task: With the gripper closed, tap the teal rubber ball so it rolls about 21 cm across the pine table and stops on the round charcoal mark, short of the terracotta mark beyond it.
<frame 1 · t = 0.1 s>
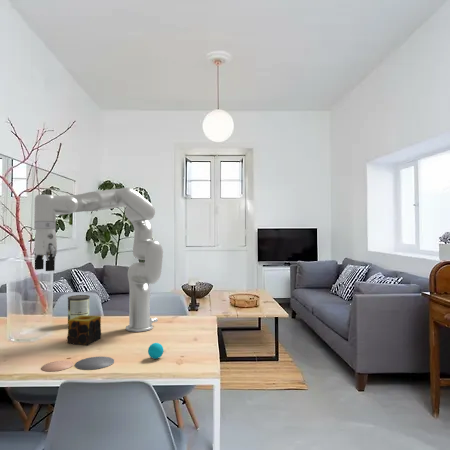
hand: (44, 270, 145), 31 cm above the table, tool pointing down, fingers open, 9 cm apart
candle: (84, 342, 157), on the table
coffee can: (78, 325, 186), on the table
ball: (155, 350, 135), on the table
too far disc: (57, 366, 127), on the table
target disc: (94, 363, 130), on the table
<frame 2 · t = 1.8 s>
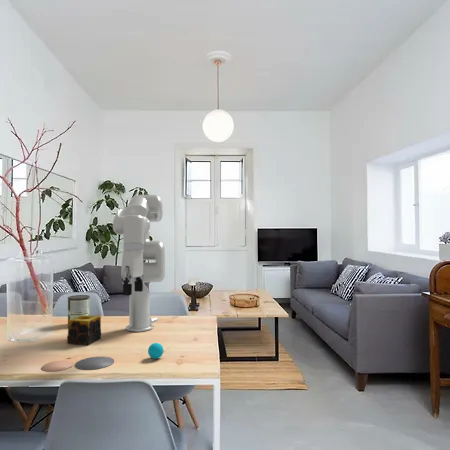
hand: (133, 293, 140), 23 cm above the table, tool pointing down, fingers open, 9 cm apart
nothing on the table moved.
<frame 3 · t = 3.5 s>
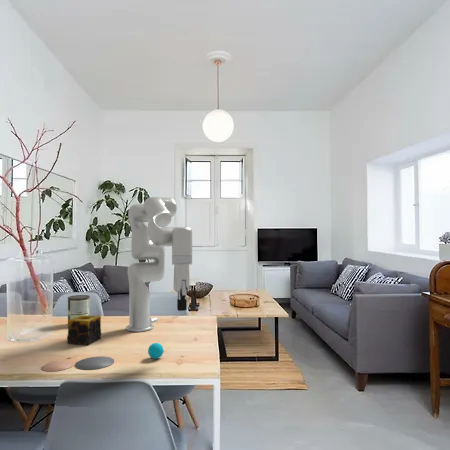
hand: (181, 309, 138), 17 cm above the table, tool pointing down, fingers closed
nothing on the table moved.
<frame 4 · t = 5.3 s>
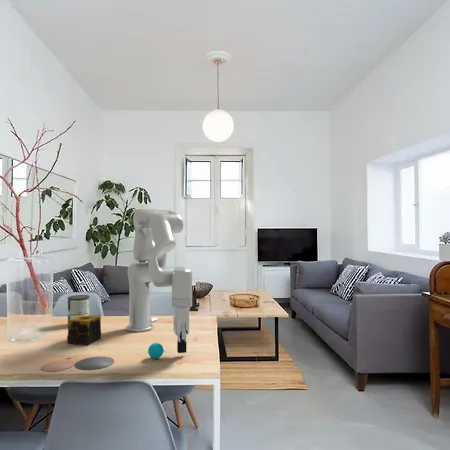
hand: (181, 352, 137), 2 cm above the table, tool pointing down, fingers closed
nothing on the table moved.
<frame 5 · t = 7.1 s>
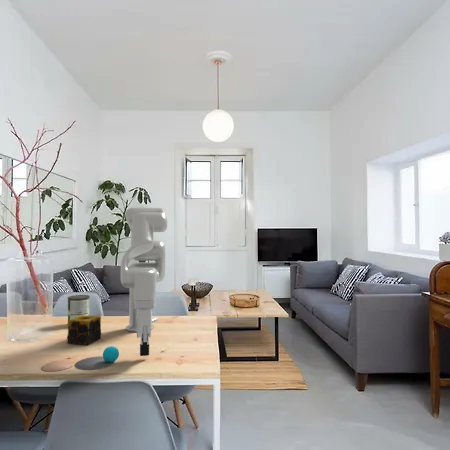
hand: (144, 355, 134), 2 cm above the table, tool pointing down, fingers closed
ball: (110, 354, 131), on the table
everything else where it was.
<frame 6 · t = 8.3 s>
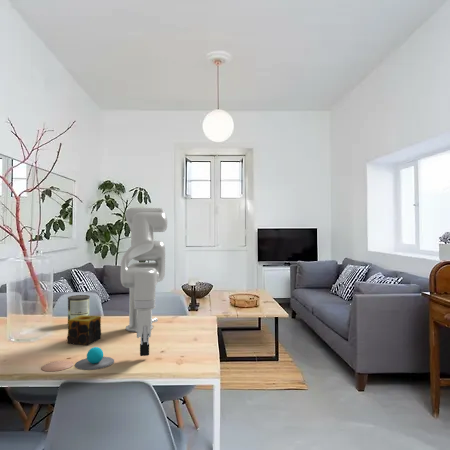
hand: (144, 355, 134), 2 cm above the table, tool pointing down, fingers closed
ball: (95, 355, 130), on the table
everything else where it was.
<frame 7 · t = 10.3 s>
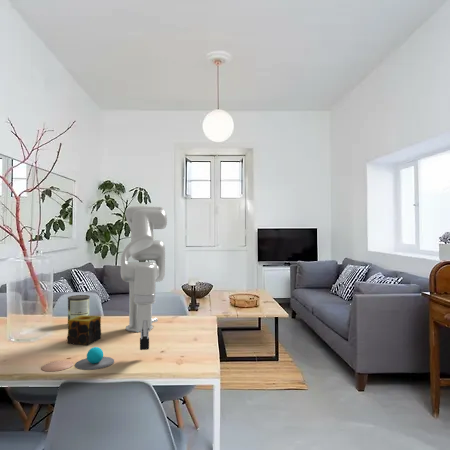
hand: (144, 348, 135), 3 cm above the table, tool pointing down, fingers closed
nothing on the table moved.
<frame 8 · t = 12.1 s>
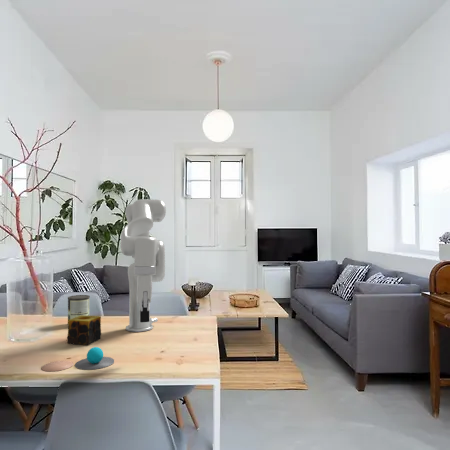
hand: (144, 321, 134), 13 cm above the table, tool pointing down, fingers closed
nothing on the table moved.
at the end: ball 0.2 cm from the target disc (horizontally); ball at rest at the end (0.0 cm/s); ball moved 20.9 cm from its start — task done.
